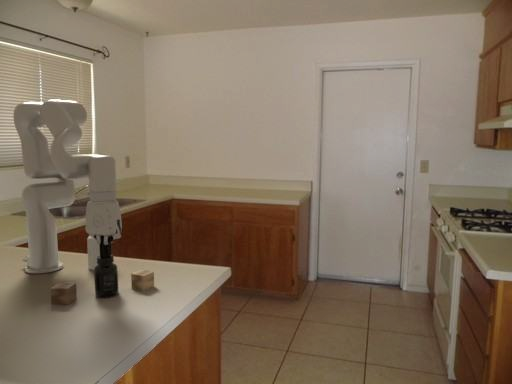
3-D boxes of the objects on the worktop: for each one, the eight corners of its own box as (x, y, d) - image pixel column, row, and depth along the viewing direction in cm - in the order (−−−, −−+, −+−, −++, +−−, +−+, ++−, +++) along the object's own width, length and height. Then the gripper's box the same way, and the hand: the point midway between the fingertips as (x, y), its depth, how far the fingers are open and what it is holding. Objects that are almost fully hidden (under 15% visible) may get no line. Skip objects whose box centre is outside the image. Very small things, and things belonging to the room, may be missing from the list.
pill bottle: (115, 265, 158) (114, 226, 156) (102, 271, 150) (100, 231, 149) (97, 263, 160) (95, 225, 158) (83, 269, 153) (81, 229, 151)
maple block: (131, 288, 134) (131, 273, 133) (142, 284, 138) (142, 269, 138) (143, 291, 132) (143, 276, 131) (154, 286, 136) (153, 271, 135)
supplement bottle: (121, 290, 132) (120, 253, 131) (114, 298, 125) (113, 259, 124) (99, 290, 132) (97, 253, 130) (91, 298, 125) (90, 259, 124)
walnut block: (51, 305, 120) (50, 288, 119) (60, 298, 125) (59, 282, 124) (68, 305, 120) (67, 288, 119) (76, 299, 125) (75, 282, 124)
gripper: (73, 197, 124) (76, 257, 126) (116, 199, 119) (118, 262, 121) (91, 194, 131) (93, 251, 133) (132, 196, 126) (133, 255, 128)
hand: (105, 256), depth 127 cm, fingers closed
